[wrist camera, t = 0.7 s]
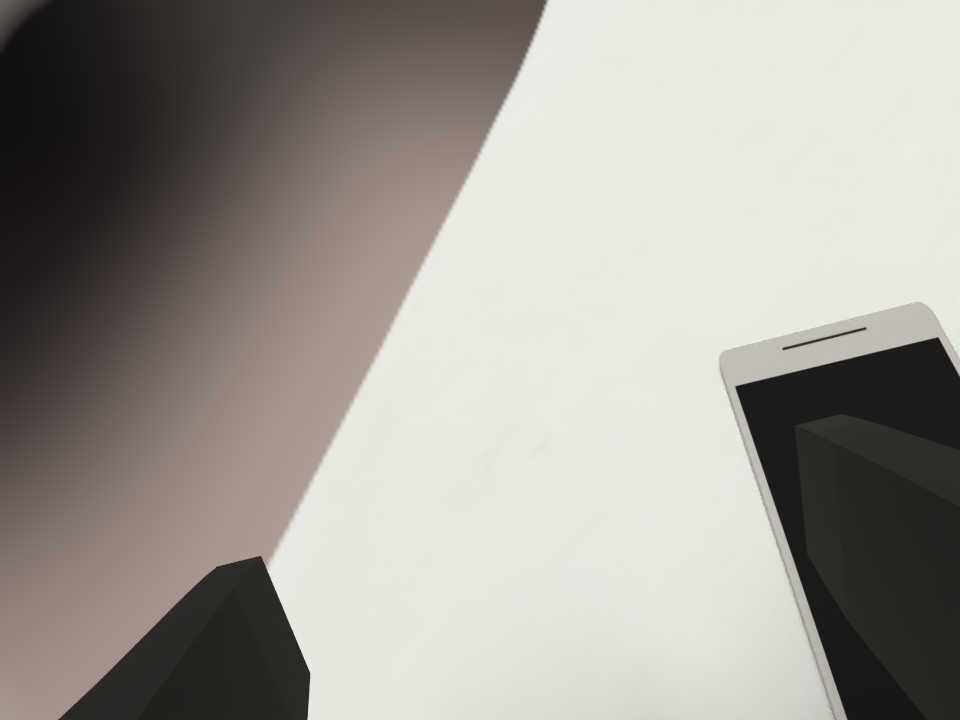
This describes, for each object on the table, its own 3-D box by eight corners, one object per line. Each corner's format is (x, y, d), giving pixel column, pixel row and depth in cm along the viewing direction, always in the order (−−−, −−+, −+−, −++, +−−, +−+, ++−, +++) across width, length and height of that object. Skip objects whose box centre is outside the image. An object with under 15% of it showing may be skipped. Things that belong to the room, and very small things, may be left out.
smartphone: (880, 866, 19) (884, 867, 18) (716, 364, 27) (715, 350, 27) (1208, 835, 17) (1228, 834, 16) (923, 312, 26) (927, 296, 25)
